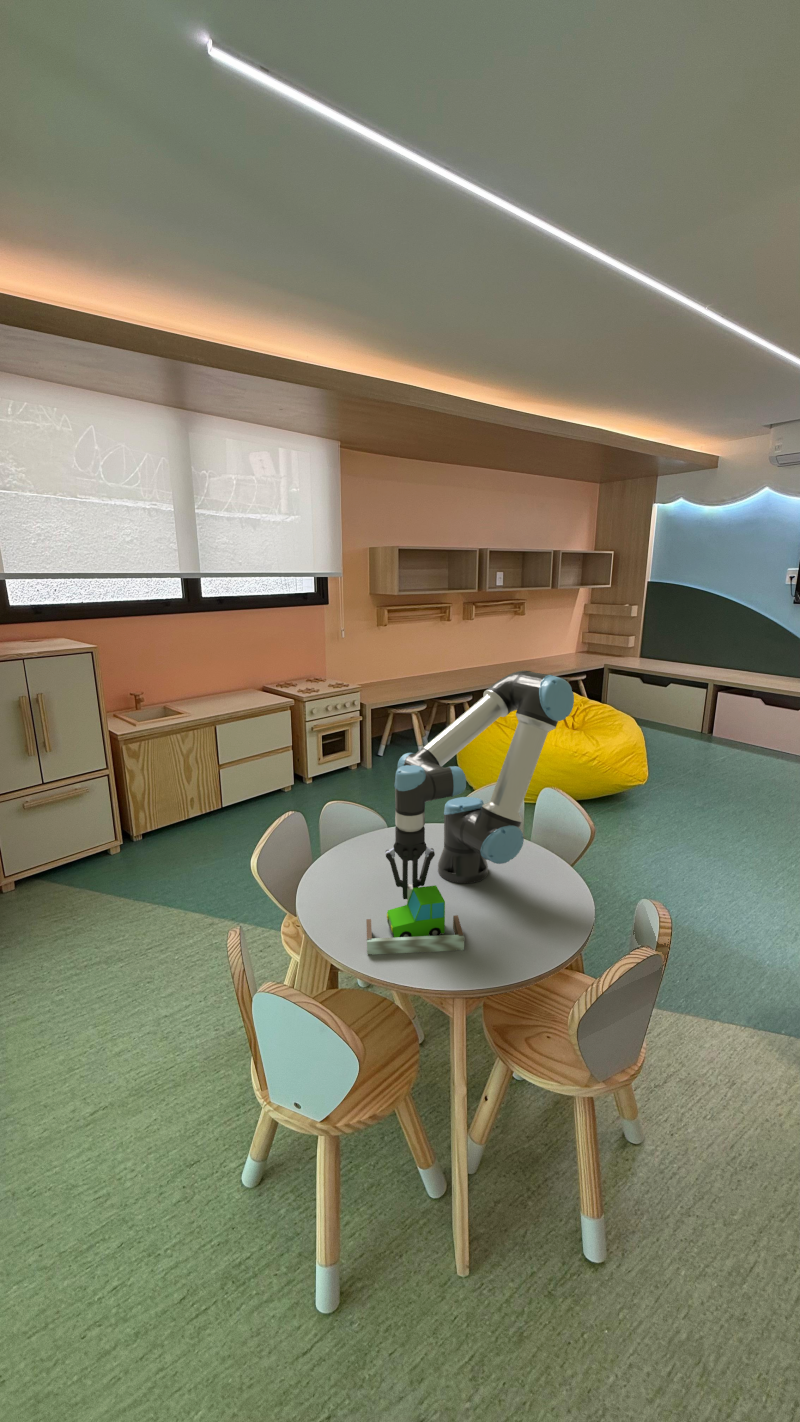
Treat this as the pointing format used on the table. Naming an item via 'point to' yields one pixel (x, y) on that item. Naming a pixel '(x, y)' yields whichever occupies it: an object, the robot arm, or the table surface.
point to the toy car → (419, 914)
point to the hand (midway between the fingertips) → (409, 909)
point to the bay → (416, 942)
